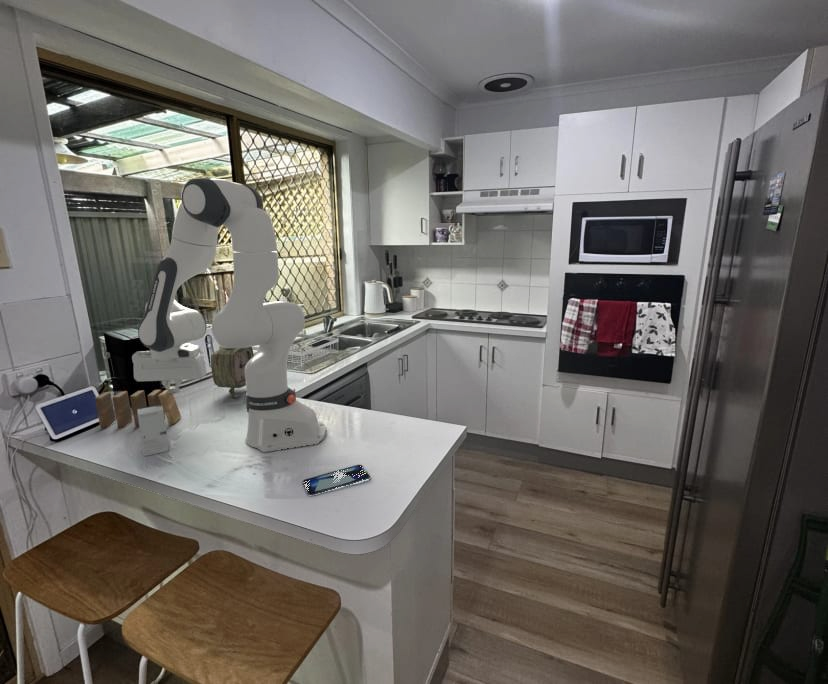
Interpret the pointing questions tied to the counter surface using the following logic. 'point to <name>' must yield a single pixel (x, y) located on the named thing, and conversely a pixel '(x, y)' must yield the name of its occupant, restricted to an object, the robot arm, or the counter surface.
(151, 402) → the domino
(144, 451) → the skincare box
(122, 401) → the domino
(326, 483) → the smartphone
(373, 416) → the counter surface
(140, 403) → the domino
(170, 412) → the oak domino
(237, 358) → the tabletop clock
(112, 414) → the domino
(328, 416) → the counter surface
